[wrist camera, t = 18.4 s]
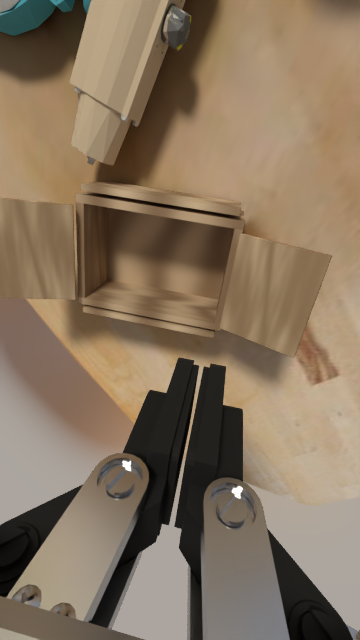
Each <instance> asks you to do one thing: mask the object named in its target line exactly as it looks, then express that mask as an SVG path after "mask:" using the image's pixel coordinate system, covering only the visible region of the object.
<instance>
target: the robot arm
mask: <svg viewBox="0 0 360 640" xmlns="http://www.w3.org/2000/svg"><path fill="white" fill-rule="evenodd" d="M193 364H194V360H189V359H184V358H178V361H177V364H176V367H175V370H174V373H173V376H172V379H171V382H170V385H169V387H168V390H167V393H163V392H158V391H153V390H150V391H149V392H148V394H147V396H146V399H145V401H144V403H143V406H142V408H141V411H140V413H139V415H138V418H137V420H136V422H135V425H134V427H133V430H132V432H131V434H130V437H129V439H128V442H127V444H126V446H125V449H124V451H123V453H117V454H114V455H111V456H108V457H106V458H105V459H103V460H102V461H100V463H99V464H98V465H97V466H96V467H95V469H94V470H93V471H92V473H91V474H90V476H89V477H88V479H87V480H86V481H85V483H84V484H83V485H81V486H79V487H77V488H75V489H73V490H71V491H69V492H67V493H65V494H63V495H60V496H58V497H56V498H54V499H52V500H50V501H48V502H46V503H44V504H42V505H40V506H38V507H36V508H34V509H32V510H30V511H27V512H25V513H23V514H21V515H19V516H17V517H15V518H13V519H11V520H9V521H7V522H5V523H3V524H2V525H0V640H143V639H140V638H137V637H134V636H131V635H127V634H124V633H120V632H117V631H114V630H111V629H112V627H113V624H114V622H115V619H116V617H117V614H118V612H119V610H120V607H121V605H122V602H123V600H124V597H125V595H126V592H127V590H128V587H129V585H130V582H131V580H132V577H133V575H134V572H135V570H136V568H137V565H138V563H139V560H140V558H141V554H142V551H143V550H144V549H146V548H147V547H149V546H150V545H152V544H153V543H154V542H156V539H157V535H158V536H159V534H160V529H161V525H162V524H166V525H169V522H170V517H171V512H172V507H173V503H174V498H175V493H176V488H177V483H178V478H179V474H180V468H181V464H182V459H183V454H184V449H185V445H186V440H187V435H188V430H189V425H190V419H191V413H192V407H193V400H194V394H195V388H196V382H197V376H198V370H199V366H198V365H193ZM225 373H226V367H225V366H220V365H215V364H210V368H209V367H204V369H203V374H202V379H201V384H200V389H199V394H198V399H197V404H196V409H195V414H194V419H193V425H192V430H191V435H190V440H189V445H188V450H187V455H186V461H185V467H184V473H183V479H182V485H181V491H180V497H179V504H178V509H177V515H176V521H175V527H177V528H181V529H182V532H181V537H180V544H179V549H180V551H181V552H182V554H183V556H184V557H185V559H186V561H187V562H188V564H189V566H188V623H187V626H188V627H187V640H360V630H359V631H357V630H355V629H353V628H351V627H350V626H348V625H346V624H345V623H344V622H343V620H342V618H341V617H340V615H339V614H338V613H337V612H336V610H335V609H334V608H333V607H332V606H331V604H330V603H329V602H328V601H327V599H326V598H325V597H324V596H323V595H322V594H321V592H320V591H319V590H318V589H317V587H316V586H315V585H314V584H313V583H312V581H311V580H310V579H309V578H308V577H307V575H306V574H305V573H304V572H303V571H302V569H301V568H300V567H299V566H298V565H297V563H296V562H295V561H294V560H293V559H292V558H291V556H290V555H289V554H288V553H287V552H286V550H285V549H284V548H283V547H282V546H281V544H280V543H279V542H278V541H277V540H276V538H275V537H274V536H273V535H272V534H271V532H270V531H269V530H268V529H267V526H266V521H265V516H264V511H263V507H262V504H261V501H260V499H259V497H258V496H257V494H256V493H255V491H254V490H253V489H252V488H251V487H250V486H248V485H247V484H246V483H244V482H243V410H242V409H240V408H235V407H230V406H225V405H223V396H224V385H225Z"/></svg>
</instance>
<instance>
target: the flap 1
mask: <svg viewBox="0 0 360 640" xmlns="http://www.w3.org/2000/svg"><path fill="white" fill-rule="evenodd" d="M0 298H26V299H69V300H75V299H76V289H75V255H74V221H73V205H69V204H59V203H49V202H39V201H29V200H19V199H9V198H0Z"/></svg>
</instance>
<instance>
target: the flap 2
mask: <svg viewBox="0 0 360 640" xmlns="http://www.w3.org/2000/svg"><path fill="white" fill-rule="evenodd" d="M331 257H332V256H331V255H327V254H323V253H319V252H315V251H311V250H307V249H303V248H299V247H295V246H291V245H287V244H283V243H279V242H275V241H271V240H267V239H263V238H259V237H255V236H251V235H247V234H240V237H239V242H238V246H237V251H236V255H235V260H234V264H233V269H232V274H231V278H230V283H229V287H228V292H227V296H226V301H225V305H224V310H223V314H222V319H221V323H220V329H223V330H225V331H228V332H230V333H233V334H235V335H238V336H240V337H243V338H245V339H248V340H250V341H253V342H255V343H258V344H260V345H262V346H265V347H267V348H270V349H272V350H275V351H277V352H280V353H282V354H285V355H287V356H290V357H292V358H294V356H295V354H296V352H297V349H298V346H299V343H300V341H301V338H302V335H303V333H304V330H305V327H306V325H307V322H308V319H309V316H310V314H311V311H312V308H313V306H314V303H315V300H316V298H317V295H318V292H319V290H320V287H321V284H322V281H323V279H324V276H325V273H326V271H327V268H328V265H329V263H330V260H331Z"/></svg>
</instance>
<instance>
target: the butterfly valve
mask: <svg viewBox="0 0 360 640" xmlns="http://www.w3.org/2000/svg"><path fill="white" fill-rule="evenodd" d="M185 1H186V0H83V4H84V9H85V11H86V13H87V18H86V21H85V25H84V29H83V33H82V37H81V41H80V44H79V48H78V52H77V56H76V60H75V64H74V67H73V71H72V75H71V79H70V83H71V84H72V85H74V86H75V92H77V93H78V103H79V106H78V111H77V116H76V121H75V126H74V131H73V136H72V142H71V145H72V146H74V147H75V148H77V149H78V150H80V151H81V152H83V153H84V154H86V155H87V157H88V162H87V163H89V164H91V165H93V164H94V162H95V161H96V160H97V161H99V162H101V163H105V164H108V165H112V166H113V165H114V163H115V160H116V158H117V155H118V153H119V150H120V148H121V146H122V143H123V141H124V138H125V136H126V134H127V131H128V129H129V126H130V124H133V125H134V126H136V127H137V126H138V125H139V123H140V120H141V118H142V115H143V113H144V110H145V107H146V105H147V102H148V99H149V97H150V94H151V91H152V89H153V86H154V83H155V81H156V78H157V75H158V73H159V70H160V67H161V65H162V62H163V59H164V57H165V54H166V51H167V49H168V46H171V47H172V48H174V49H175V50H177V51H178V52H179V50H180V49H181V48H182V47H183V45H184V44H185V43H186V42H187V40H188V38H189V35H190V26H191V15H189V14H188V13H187V12H185V11H183V10H182V9H183V6H184V3H185ZM74 2H75V0H0V32H3V33H6V34H10V35H13V36H15V35H18V34H21V33H24V32H26V31H29V30H32V29H35V28H37V27H39V26H40V25H41V24H42V23H43V22H44V21H45V20H46V19H47V18H48V17H49V16H50V15H51V14H52V13H53V11H54V9H55V7H56V6H57V7H58V8H59V9H60V10H61V11H62V12H68V11H72V9H73V5H74ZM131 121H132V123H131Z"/></svg>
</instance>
